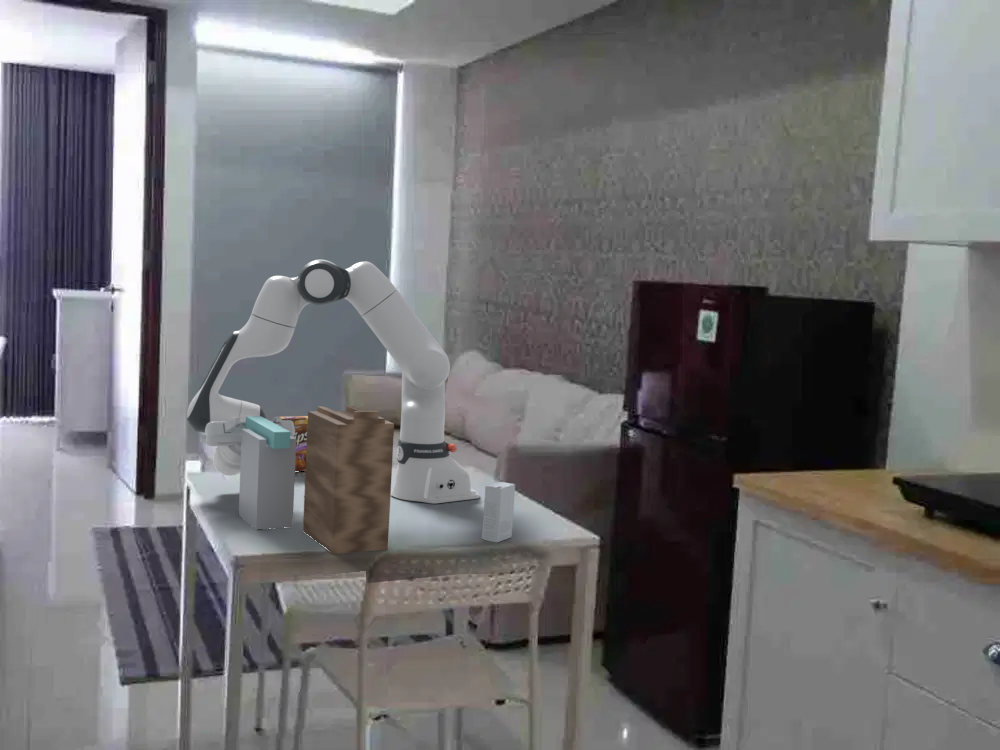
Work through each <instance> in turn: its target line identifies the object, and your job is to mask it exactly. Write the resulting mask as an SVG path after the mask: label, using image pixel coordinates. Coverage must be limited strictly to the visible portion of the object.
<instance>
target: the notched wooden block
mask: <svg viewBox="0 0 1000 750" xmlns="http://www.w3.org/2000/svg"><path fill="white" fill-rule="evenodd" d="M316 407H317V408H316V410H312V411H311V410H310V411H309V410H307V416H308V425H307V448H306V472H304V473H305V475H304V495H303V497H304V499H303V518H302V519H303V520H302V521H303V522H302V523H303V524H302V525H303V527H302V532H303V531H304V532H305V533H306V534H308V535H309V536H311V537H312V538H313V539H314V540H316V541H317V542H318V543H320V544H321V545H323V546H324V547H326V548H327V549H328V550H329V551H330V552H329V553H330V554H331V555H337V554H338V555H340V554H349V553H352V554H353V553H361V552H362V553H363V552H373V551H374V552H375V551H385V550H387V549H389V536H390V535H389V533H390V512H391V496H392V495H391V491H392V474H393V473H392V472H393V458H394V457H393V454H394V434H395V423H394V422H391V421H389V420H386V418H384V417H381V416H379V410H364V409H361V408H360V407H359V408H358V407H357V406H354V405H346V408H345V410H335V409H332V408H329V407H326V406H324V405H323V406H321V405H320V406H319V405H318V406H316ZM304 532H303V533H304ZM305 533H304V534H305ZM306 534H305V535H306ZM308 535H307V536H308ZM309 536H308V537H309ZM312 538H311V539H312ZM313 539H312V540H313ZM314 540H313V541H314ZM317 542H316V543H317ZM318 543H317V544H318ZM321 545H320V546H321ZM387 551H388V550H387Z"/></svg>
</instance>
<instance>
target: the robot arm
mask: <svg viewBox="0 0 1000 750" xmlns="http://www.w3.org/2000/svg"><path fill="white" fill-rule="evenodd" d="M343 299H345V300H346V301H348V303H350V304H351V305H352V306H353V307H354V308H355V310H356V311H357V312H358V314H359V316H361V318H362V319H363V321H364V322H365V323H366V324H367V326H368V327H369V328H370V330H371V331H372V332H373V333H374V335H375V336H376V337H377V339H378V340H379V342H380V343H381V345H383V347H384V348H385V350H386V351H387V352H388V353H389V355H390V356H391V357H392V358H393V360H394V362H395V363H396V364H397V365H398V367H399V368H400V370H401V373H402V375H401V410H400V411H401V412H400V413H401V414H400V415H401V416H400V430H399V431H400V436H399V439H398V442H397V450H396V453H397V454H396V456H397V458H396V460H397V467H396V473H395V477H394V481H393V482H394V483H393V486H392V487H391V496H392V497H394V498H396V499H400V500H405V501H410V502H411V501H412V502H422V503H426V504H442V503H450V502H458V501H464V500H466V501H467V500H474V499H479V497H480V494H479V492H478V491H477V490H475V488H472V487H471V478H470V474H469V472H468V471H467V470H466V468H464V467H463V466H462V465H460V463H458V461H456V460H455V459H453V458H452V457H451V456H450V452H451V453H454V454H455V453H456V452H457V451H458V448H457V447H458V446H457V445H456V444H454V443H448V442H446V441H444V439H445V421H446V381H447V378H448V377H449V375H450V372H451V371H450V370H451V363H450V362H451V361H450V359H449V356H448V354H447V353H446V352H445V350H444V348H442V347H441V345H440V344H439V343H438V341H437V340H436V339H435V337H434V336H433V335H432V333H430V331H429V330H428V329H427V327H426V326H425V324H424V323H423V322H422V321H421V319H420V318H419V317H418V315H417V314H416V313H415V311H413V309H412V308H411V306H410V305H409V304H408V302H407V301H406V300H405V298H404V297H403V295H402V294H401V293H400V292H399V290H398V289H397V287H396V286H395V285H394V284H393V283H392V281H391V280H390V279H389V278H388V277H387V276H386V275H385V274H384V273H383V272H382V271H381V270H380V269H379V268H378V267H377V266H376V265H375V264H374V263H372V262H370V261H366V260H365V261H359V262H356V263H354V264H352V265H351V266H349V267H348V268H343V267H341V266H338V265H337V264H335V263H334V262H332V261H330V260H326V259H315V260H312V261H310V262H308V263H307V264H305V265H304V266H303V267H302V269H301V270H300V272H299V273H298V274H297V275H296V276H294V277H289V276H285V275H273V276H270V277H268V279H267V280H265V281H264V284H263V286H262V288H261V289H260V291H259V294H258V296H257V298H256V299H255V301H254V306H253V308H252V311H251V314H250V316H249V318H248V321H247V322H246V323H245V325H243V327H241V329H239V330H234V331H232V332H231V333H230V334H229V335H228V336H227V339H225V342H223V345H222V347H221V349H220V350H219V351H218V353H217V355H216V357H215V359H214V360H213V362H212V365H211V367H210V369H209V371H208V373H207V375H206V376H205V378H204V380H203V382H202V384H201V386H200V387H199V389H198V391H197V392H196V393H195V395H194V396H193V398H192V399H191V401H190V403H189V404H188V408H187V411H186V413H187V414H186V420H187V422H188V424H189V426H191V428H192V429H193V430H194V431H195V432H199V433H203V435H201V436H200V438H199V442H200V443H204V444H205V445H206V446H209V447H215V450H214V452H213V456H212V463H213V467H214V468H215V469H216V471H218V472H219V473H220V474H221V475H223V476H229V477H230V476H237V475H240V465H241V438H242V429H246V416H262V417H264V418H265V419H267V416H266V414H265V412H264V410H263V408H262V407H261V406H260V404H256V403H253V402H249V401H246V400H242V399H237V398H234V397H230V396H226V395H222V394H220V393H219V391H220V389H221V387H222V385H223V383H224V381H225V379H226V378H227V376H228V374H229V372H230V370H231V368H232V366H233V365H234V364H236V363H237V362H239V361H240V360H243V359H248V358H259V357H268V356H274V355H277V354H279V353H281V352H282V351H284V350H285V349H286V348H287V347H289V345H290V342H291V340H292V338H293V335H294V333H295V331H296V330H295V329H296V327H297V323H298V320H299V317H300V314H301V312H302V310H303V309H304V308H305V307H306V306H307V305H309V304H313V305H316V306H326V305H330V304H332V303H334V302H337V301H341V300H343ZM270 421H271V422H273V423H275V424H277V425H279V426H280V427H282V428H284V429H286V430H288V431H290V432H291V434H290V435H291V436H292V437H294V435H295V428H294V423H293V422H292V421H291V420H282V418H281V417H276V416H274V417H273V419H272V420H270Z"/></svg>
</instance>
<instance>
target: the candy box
mask: <svg viewBox="0 0 1000 750" xmlns="http://www.w3.org/2000/svg"><path fill="white" fill-rule="evenodd" d="M275 417H281V418H282V420H291V421H292V422H293V423H294V428H295V435H294V438H296V458H295V471H306V448H307V425H308V415H297V416H296V415H293V416H292V415H289V416H285V415H284V416H283V415H282V416H281V415H279V416H278V415H276V416H275Z"/></svg>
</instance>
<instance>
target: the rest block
mask: <svg viewBox="0 0 1000 750" xmlns="http://www.w3.org/2000/svg"><path fill="white" fill-rule="evenodd" d="M295 458H296V438H294V437H292V436H291V435H290V448H281V449H273V448H272V447H270V446H268V445H267V444H266V439H265V438H263V437H262V436H260V435H258V434H256V433H255V432H253V431H251V430H250V429H242V438H241V465H240V473H239V497H238V500H239V501H238V516H240V518H241V519H243V520H244V521H245V520H246V521H247V522H248V523H247V522H246V521H245V522H246V523H247V524H248V525H250V527H252V526H253V527H254V528H255V529H265V530H270V529H269V528H279V529H285V528H284V527H293V524H294V505H295V504H294V501H295V479H296V475H295V474H296V472H295ZM253 527H252V528H253ZM254 528H253V529H254ZM255 529H254V530H255Z"/></svg>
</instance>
